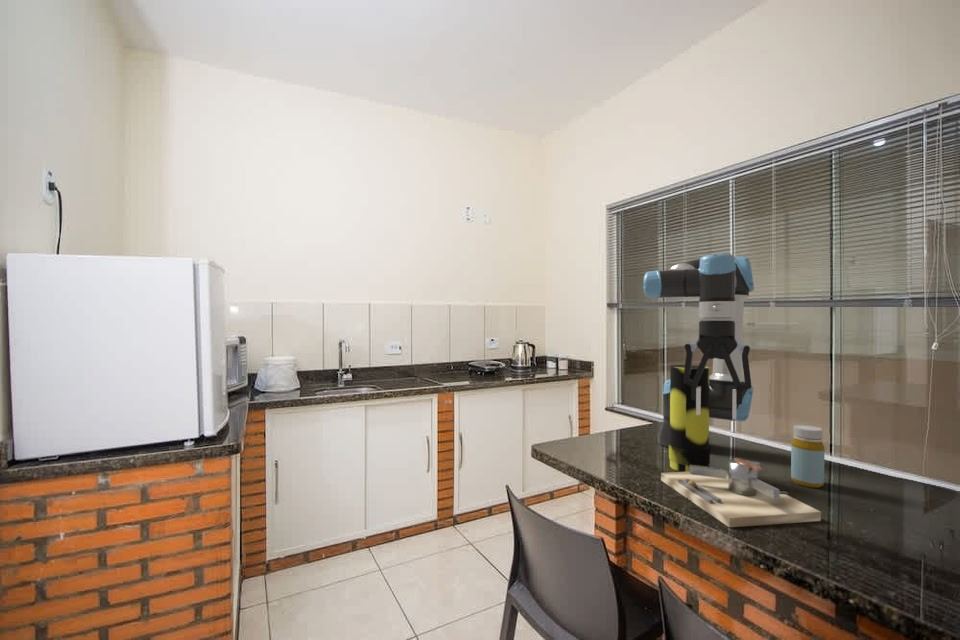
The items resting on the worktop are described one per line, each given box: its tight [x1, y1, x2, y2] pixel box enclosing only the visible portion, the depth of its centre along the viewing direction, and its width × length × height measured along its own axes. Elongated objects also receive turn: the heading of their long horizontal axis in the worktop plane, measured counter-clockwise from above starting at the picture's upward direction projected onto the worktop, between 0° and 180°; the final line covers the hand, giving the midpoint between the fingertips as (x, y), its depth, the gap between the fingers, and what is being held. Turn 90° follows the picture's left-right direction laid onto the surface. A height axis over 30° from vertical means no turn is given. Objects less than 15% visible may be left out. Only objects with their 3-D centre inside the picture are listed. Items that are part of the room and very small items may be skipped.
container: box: [668, 364, 711, 472], centre depth 124 cm, size 11×11×30 cm
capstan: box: [690, 457, 780, 499], centre depth 102 cm, size 17×20×7 cm
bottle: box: [790, 424, 825, 489], centre depth 113 cm, size 7×7×15 cm
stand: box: [660, 469, 822, 528], centre depth 104 cm, size 26×23×4 cm
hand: (716, 415), depth 101 cm, fingers open, 7 cm apart
